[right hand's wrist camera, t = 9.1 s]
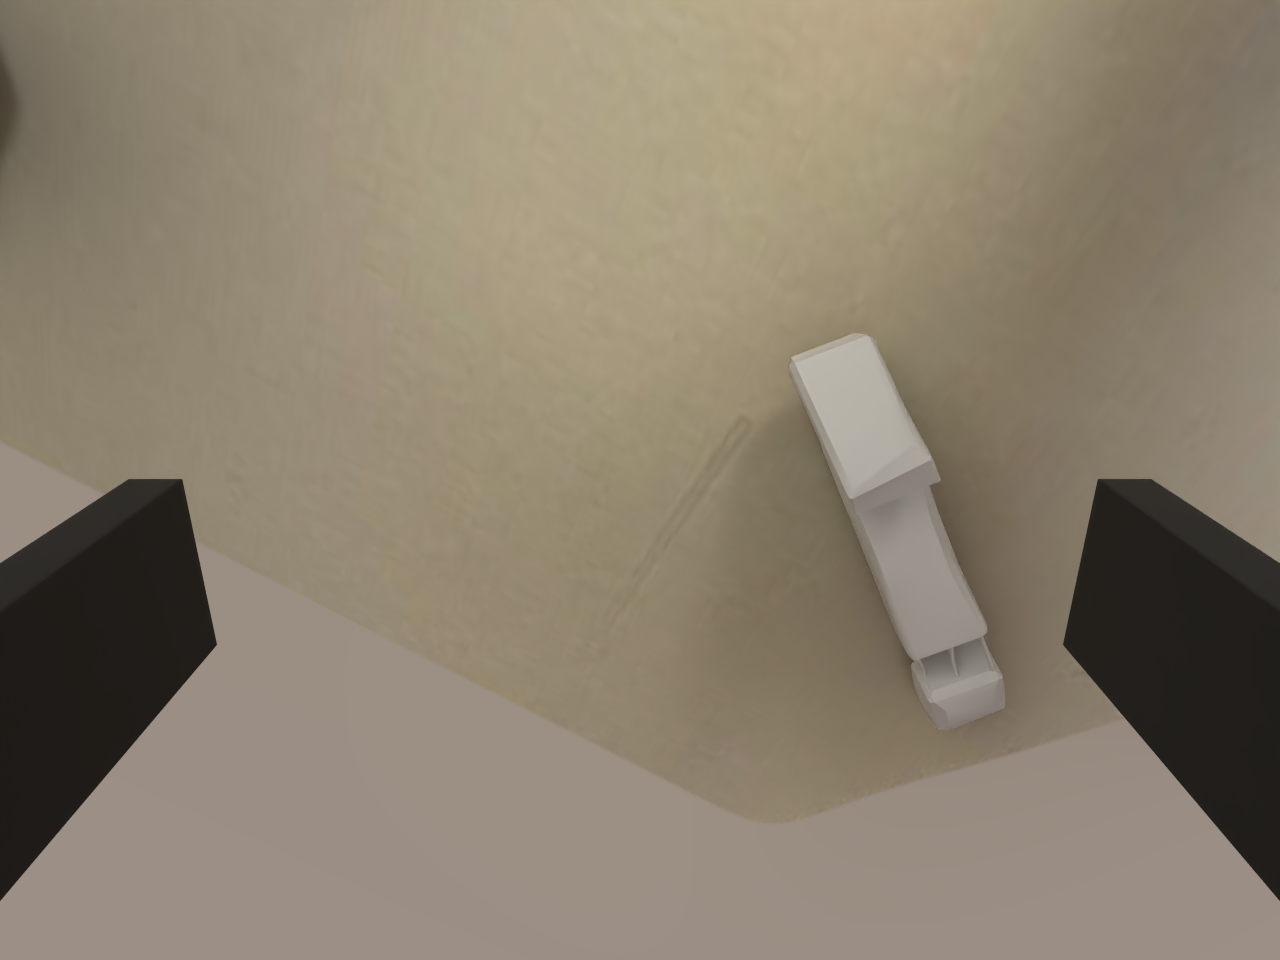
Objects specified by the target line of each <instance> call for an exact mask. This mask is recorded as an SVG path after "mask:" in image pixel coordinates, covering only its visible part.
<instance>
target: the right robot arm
mask: <svg viewBox="0 0 1280 960" xmlns="http://www.w3.org/2000/svg"><path fill="white" fill-rule="evenodd" d="M216 645H217V643H216V638H215V633H214V629H213V624H212V619H211V614H210V610H209V605H208V600H207V595H206V590H205V586H204V581H203V576H202V571H201V567H200V562H199V557H198V552H197V548H196V543H195V538H194V533H193V528H192V524H191V519H190V514H189V509H188V505H187V500H186V495H185V490H184V486H183V481H182V479H128V480H127V481H125V482H124V483H122V484H121V485H119V486H118V487H116V488H115V489H113V490H112V491H110V492H108V493H107V494H105V495H104V496H102V497H101V498H99V499H98V500H96V501H95V502H93V503H92V504H90V505H89V506H87V507H86V508H84V509H83V510H81V511H79V512H78V513H76V514H75V515H73V516H72V517H70V518H69V519H67V520H66V521H64V522H63V523H61V524H60V525H58V526H57V527H55V528H53V529H52V530H50V531H49V532H47V533H46V534H44V535H43V536H41V537H40V538H38V539H37V540H35V541H34V542H32V543H30V544H29V545H27V546H26V547H24V548H23V549H21V550H20V551H18V552H17V553H15V554H14V555H12V556H11V557H9V558H8V559H6V560H5V561H3V562H2V563H0V900H1V899H2V898H3V897H4V896H5V895H6V893H7V892H8V891H9V890H10V889H11V887H12V886H13V885H14V884H15V883H16V882H17V880H18V879H19V878H20V877H21V876H22V874H23V873H24V872H25V871H26V870H27V869H28V867H29V866H30V865H31V864H32V863H33V861H34V860H35V859H36V858H37V857H38V856H39V854H40V853H41V852H42V851H43V850H44V848H45V847H46V846H47V845H48V844H49V843H50V841H51V840H52V839H53V838H54V837H55V835H56V834H57V833H58V832H59V831H60V830H61V828H62V827H63V826H64V825H65V824H66V822H67V821H68V820H69V819H70V818H71V817H72V815H73V814H74V813H75V812H76V811H77V810H78V808H79V807H80V806H81V805H82V804H83V802H84V801H85V800H86V799H87V798H88V797H89V795H90V794H91V793H92V792H93V791H94V789H95V788H96V787H97V786H98V785H99V783H100V782H101V781H102V780H103V779H104V778H105V776H106V775H107V774H108V773H109V772H110V771H111V769H112V768H113V767H114V766H115V765H116V763H117V762H118V761H119V760H120V759H121V757H122V756H123V755H124V754H125V753H126V752H127V750H128V749H129V748H130V747H131V746H132V745H133V743H134V742H135V741H136V740H137V739H138V737H139V736H140V735H141V734H142V733H143V732H144V730H145V729H146V728H147V727H148V726H149V724H150V723H151V722H152V721H153V720H154V719H155V717H156V716H157V715H158V714H159V713H160V711H161V710H162V709H163V708H164V707H165V706H166V704H167V703H168V702H169V701H170V700H171V698H172V697H173V696H174V695H175V694H176V693H177V691H178V690H179V689H180V688H181V687H182V685H183V684H184V683H185V682H186V681H187V679H188V678H189V677H190V676H191V675H192V674H193V672H194V671H195V670H196V669H197V668H198V666H199V665H200V664H201V663H202V662H203V661H204V659H205V658H206V657H207V656H208V655H209V654H210V652H211V651H212V650H213V649H214V648H215V646H216ZM1063 645H1064V646H1065V648H1066V649H1067V650H1068V651H1069V652H1070V654H1071V655H1072V656H1073V657H1074V658H1075V659H1076V661H1077V662H1078V663H1079V664H1080V665H1081V667H1082V668H1083V669H1084V670H1085V671H1086V672H1087V674H1088V675H1089V676H1090V677H1091V678H1092V680H1093V681H1094V682H1095V683H1096V684H1097V685H1098V687H1099V688H1100V689H1101V690H1102V691H1103V693H1104V694H1105V695H1106V696H1107V697H1108V698H1109V700H1110V701H1111V702H1112V703H1113V704H1114V706H1115V707H1116V708H1117V709H1118V710H1119V711H1120V713H1121V714H1122V715H1123V716H1124V717H1125V719H1126V720H1127V721H1128V722H1129V723H1130V724H1131V726H1132V727H1133V728H1134V729H1135V730H1136V732H1137V733H1138V734H1139V735H1140V736H1141V737H1142V739H1143V740H1144V741H1145V742H1146V743H1147V745H1148V746H1149V747H1150V748H1151V749H1152V750H1153V752H1154V753H1155V754H1156V755H1157V756H1158V757H1159V759H1160V760H1161V761H1162V762H1163V763H1164V765H1165V766H1166V767H1167V768H1168V769H1169V770H1170V772H1171V773H1172V774H1173V775H1174V776H1175V778H1176V779H1177V780H1178V781H1179V782H1180V783H1181V785H1182V786H1183V787H1184V788H1185V789H1186V791H1187V792H1188V793H1189V794H1190V795H1191V797H1192V798H1193V799H1194V800H1195V801H1196V802H1197V803H1198V805H1199V806H1200V807H1201V808H1202V810H1203V811H1204V812H1205V813H1206V814H1207V815H1208V817H1209V818H1210V819H1211V820H1212V821H1213V823H1214V824H1215V825H1216V826H1217V827H1218V828H1219V830H1220V831H1221V832H1222V833H1223V834H1224V835H1225V837H1226V838H1227V839H1228V840H1229V841H1230V843H1231V844H1232V845H1233V846H1234V847H1235V848H1236V850H1237V851H1238V852H1239V853H1240V854H1241V856H1242V857H1243V858H1244V859H1245V860H1246V861H1247V863H1248V864H1249V865H1250V866H1251V867H1252V869H1253V870H1254V871H1255V872H1256V873H1257V874H1258V876H1259V877H1260V878H1261V879H1262V880H1263V882H1264V883H1265V884H1266V885H1267V886H1268V887H1269V889H1270V890H1271V891H1272V892H1273V893H1274V895H1275V896H1276V897H1277V898H1278V899H1279V900H1280V563H1279V562H1277V561H1276V560H1274V559H1272V558H1271V557H1269V556H1268V555H1266V554H1265V553H1263V552H1262V551H1260V550H1259V549H1257V548H1256V547H1254V546H1253V545H1251V544H1250V543H1248V542H1246V541H1245V540H1243V539H1242V538H1240V537H1239V536H1237V535H1236V534H1234V533H1233V532H1231V531H1230V530H1228V529H1227V528H1225V527H1224V526H1222V525H1220V524H1219V523H1217V522H1216V521H1214V520H1213V519H1211V518H1210V517H1208V516H1207V515H1205V514H1204V513H1202V512H1201V511H1199V510H1198V509H1196V508H1194V507H1193V506H1191V505H1190V504H1188V503H1187V502H1185V501H1184V500H1182V499H1181V498H1179V497H1178V496H1176V495H1175V494H1173V493H1172V492H1170V491H1168V490H1167V489H1165V488H1164V487H1162V486H1161V485H1159V484H1158V483H1156V482H1155V481H1153V480H1152V479H1098V481H1097V486H1096V490H1095V495H1094V500H1093V505H1092V509H1091V514H1090V519H1089V524H1088V528H1087V533H1086V538H1085V543H1084V548H1083V552H1082V557H1081V562H1080V567H1079V571H1078V576H1077V581H1076V586H1075V590H1074V595H1073V600H1072V605H1071V609H1070V614H1069V619H1068V624H1067V629H1066V633H1065V638H1064V643H1063Z"/></svg>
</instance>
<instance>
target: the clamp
mask: <svg viewBox="0 0 1280 960" xmlns="http://www.w3.org/2000/svg"><path fill="white" fill-rule="evenodd" d="M789 374H790V376H791V378H792V380H793V383H794V385H795V387H796V389H797V391H798V394H799V396H800V399H801V401H802V403H803V405H804V407H805V410H806V412H807V414H808V416H809V418H810V421H811V423H812V425H813V427H814V430H815V432H816V434H817V436H818V439H819V441H820V443H821V448H822V451H823V454H824V456H825V459H826V461H827V463H828V466H829V468H830V471H831V473H832V476H833V478H834V480H835V483H836V485H837V488H838V490H839V493H840V495H841V498H842V500H843V503H844V505H845V508H846V510H847V513H848V515H849V518H850V520H851V523H852V525H853V527H854V530H855V532H856V535H857V537H858V540H859V542H860V545H861V547H862V550H863V552H864V555H865V557H866V560H867V562H868V565H869V567H870V570H871V572H872V575H873V577H874V580H875V582H876V585H877V587H878V590H879V592H880V595H881V597H882V600H883V602H884V605H885V607H886V610H887V612H888V615H889V617H890V620H891V623H892V625H893V628H894V630H895V632H896V634H897V636H898V638H899V640H900V641H901V643H902V645H903V647H904V649H905V651H906V653H907V654H908V655H909V656H910V657H911V658H912V659H913V660H914V662H912V664H911V672H912V678H913V684H914V687H915V690H916V693H917V696H918V698H919V700H920V702H921V705H922V707H923V709H924V711H925V712H926V713H927V715H928V716H929V718H930V719H931V720H932V722H933V723H934V725H935V726H936V727H937V729H938V730H952V729H954V728H957V727H959V726H962V725H964V724H967V723H969V722H972V721H974V720H977V719H979V718H982V717H984V716H986V715H989V714H991V713H994V712H996V711H999V710H1001V709H1003V708H1004V707H1005V705H1006V700H1005V690H1004V681H1003V675H1002V673H1001V672H1000V670H999V668H998V666H997V664H996V662H995V660H994V658H993V657H992V655H991V653H990V651H989V649H988V647H987V645H986V642H985V639H984V635H985V634H986V633H987V624H986V621H985V619H984V617H983V614H982V612H981V610H980V608H979V606H978V604H977V602H976V600H975V598H974V596H973V593H972V591H971V589H970V587H969V585H968V583H967V581H966V579H965V577H964V575H963V572H962V570H961V568H960V566H959V564H958V561H957V559H956V556H955V554H954V551H953V548H952V546H951V543H950V541H949V538H948V536H947V533H946V530H945V528H944V525H943V523H942V520H941V518H940V515H939V512H938V510H937V507H936V504H935V501H934V498H933V495H932V491H931V488H930V485H932V484H935V483H937V482H940V481H941V478H940V476H939V473H938V471H937V468H936V466H935V463H934V461H933V459H932V456H931V454H930V452H929V451H928V449H927V447H926V445H925V443H924V441H923V439H922V438H921V436H920V434H919V432H918V430H917V428H916V426H915V425H914V423H913V421H912V419H911V417H910V415H909V414H908V412H907V410H906V408H905V406H904V403H903V401H902V399H901V397H900V395H899V392H898V390H897V388H896V386H895V384H894V381H893V379H892V377H891V375H890V373H889V370H888V368H887V366H886V364H885V362H884V359H883V357H882V355H881V353H880V351H879V348H878V346H877V344H876V342H875V340H874V338H873V337H870V336H868V335H865V334H858V333H853V334H850V335H848V336H845V337H842V338H840V339H837V340H834V341H832V342H829V343H827V344H824V345H821V346H819V347H816V348H814V349H811V350H808V351H806V352H803V353H801V354H798V355H795V356H793V357H791V359H790V364H789Z"/></svg>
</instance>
